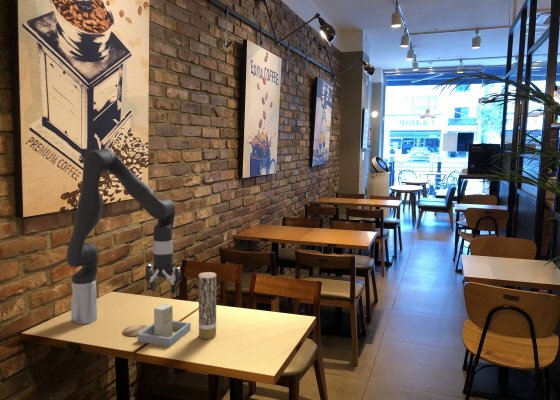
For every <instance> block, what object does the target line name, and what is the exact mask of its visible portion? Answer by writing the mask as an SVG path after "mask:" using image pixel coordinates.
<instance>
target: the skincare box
mask: <svg viewBox="0 0 560 400" xmlns="http://www.w3.org/2000/svg"><path fill="white" fill-rule="evenodd" d="M173 312H174V311H173V305H171V304H167V303H163V304H161V305H159V306H158V305H157V306H156V307H154V308H153V323H154V332H153V335H156V336H163V337H171V336H172V335H173V334H174V329H173V321H174V320H173V319H174V318H173V317H174V315H173Z"/></svg>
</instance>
